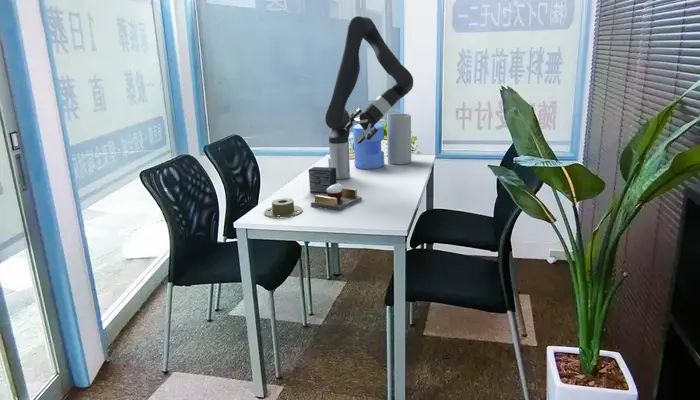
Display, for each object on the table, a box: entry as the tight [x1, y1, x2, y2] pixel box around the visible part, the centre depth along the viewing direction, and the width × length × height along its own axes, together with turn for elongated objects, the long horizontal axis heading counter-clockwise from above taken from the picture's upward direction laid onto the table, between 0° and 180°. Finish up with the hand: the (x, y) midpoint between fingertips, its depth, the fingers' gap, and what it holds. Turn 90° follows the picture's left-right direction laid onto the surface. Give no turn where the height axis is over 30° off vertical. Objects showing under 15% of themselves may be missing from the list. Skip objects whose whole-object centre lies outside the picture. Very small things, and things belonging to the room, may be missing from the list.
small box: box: [308, 166, 333, 194], centre depth 235 cm, size 11×6×10 cm, turn 71°
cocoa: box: [326, 168, 343, 200], centre depth 216 cm, size 10×6×12 cm, turn 158°
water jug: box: [352, 122, 385, 170], centre depth 276 cm, size 16×16×28 cm
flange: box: [263, 198, 304, 219], centre depth 209 cm, size 5×15×15 cm
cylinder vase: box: [386, 113, 412, 166], centre depth 282 cm, size 12×12×25 cm
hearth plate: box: [310, 186, 363, 211], centre depth 217 cm, size 14×16×4 cm
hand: (351, 136), depth 229 cm, fingers open, 8 cm apart
